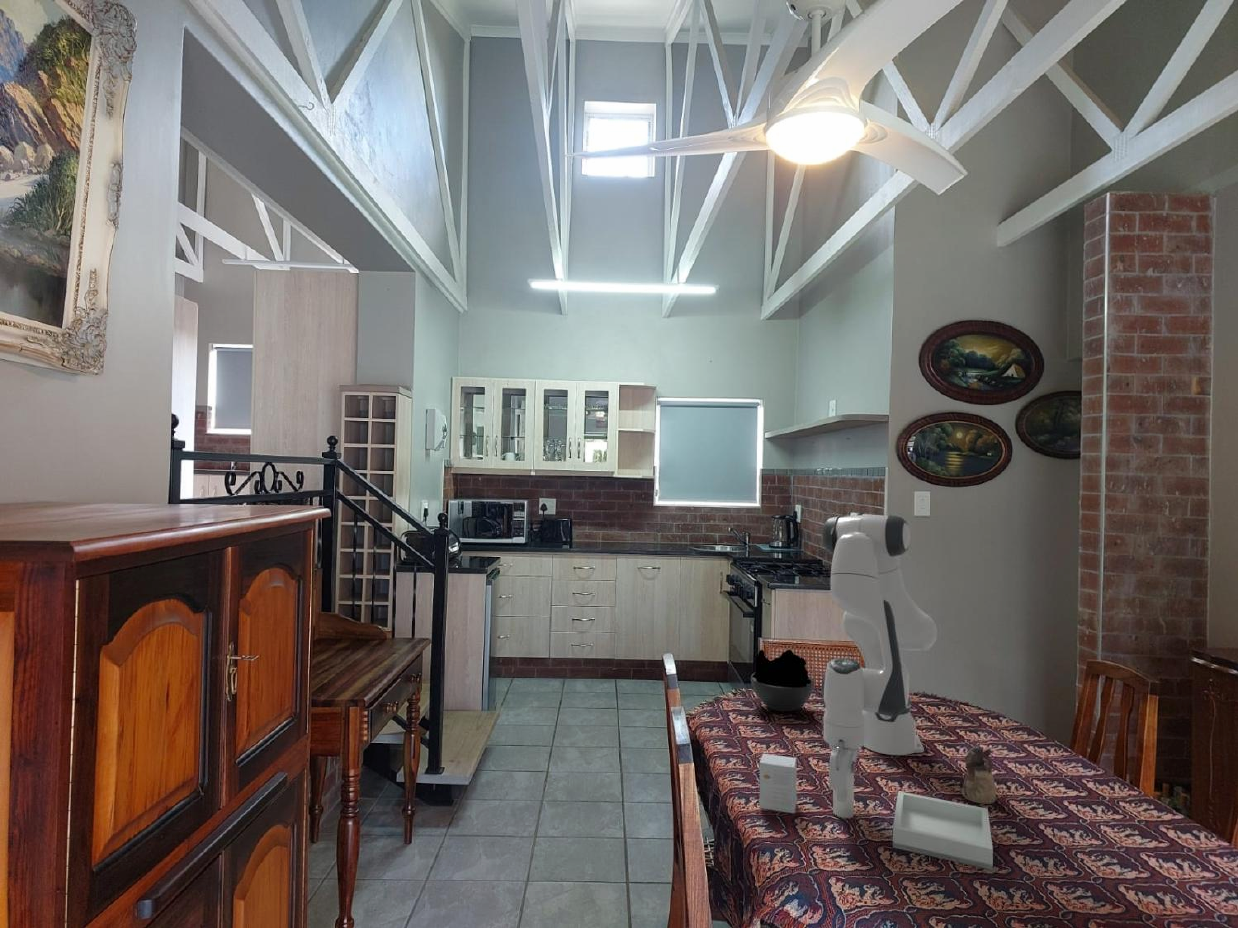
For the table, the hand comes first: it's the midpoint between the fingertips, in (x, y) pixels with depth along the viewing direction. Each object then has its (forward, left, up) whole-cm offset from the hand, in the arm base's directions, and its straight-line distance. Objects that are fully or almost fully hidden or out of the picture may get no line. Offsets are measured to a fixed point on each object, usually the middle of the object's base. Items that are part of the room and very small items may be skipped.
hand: (843, 794), depth 154 cm
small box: (+3, -14, -4) cm, 15 cm away
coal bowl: (-62, -27, -4) cm, 68 cm away
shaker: (0, 0, -4) cm, 4 cm away
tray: (+1, +20, -4) cm, 20 cm away
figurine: (-23, +28, -4) cm, 37 cm away
